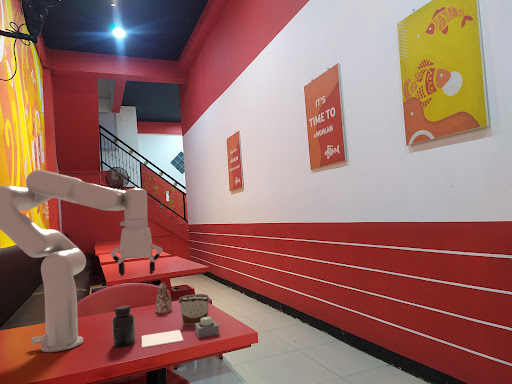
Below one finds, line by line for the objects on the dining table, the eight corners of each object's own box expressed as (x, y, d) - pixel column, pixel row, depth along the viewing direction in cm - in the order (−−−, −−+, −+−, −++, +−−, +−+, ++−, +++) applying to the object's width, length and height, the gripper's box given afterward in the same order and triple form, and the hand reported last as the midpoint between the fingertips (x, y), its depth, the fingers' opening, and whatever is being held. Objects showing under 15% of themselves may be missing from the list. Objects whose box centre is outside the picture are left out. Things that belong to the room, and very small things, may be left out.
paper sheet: (141, 347, 114) (141, 347, 114) (141, 336, 125) (141, 335, 125) (183, 341, 118) (183, 340, 118) (179, 330, 129) (179, 329, 129)
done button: (201, 329, 122) (201, 320, 122) (200, 326, 126) (199, 317, 126) (213, 328, 123) (213, 319, 123) (211, 324, 127) (210, 316, 127)
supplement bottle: (126, 339, 124) (125, 303, 124) (139, 342, 120) (138, 305, 121) (108, 346, 118) (107, 308, 119) (121, 349, 114) (120, 310, 115)
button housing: (198, 338, 120) (198, 328, 120) (195, 331, 127) (195, 323, 127) (219, 334, 122) (218, 325, 122) (215, 328, 129) (214, 320, 129)
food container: (214, 318, 142) (213, 293, 142) (211, 323, 136) (209, 296, 136) (184, 320, 143) (182, 294, 144) (179, 324, 137) (177, 298, 137)
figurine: (152, 312, 158) (151, 284, 159) (160, 308, 165) (159, 281, 166) (167, 312, 156) (166, 284, 157) (174, 308, 163) (173, 281, 164)
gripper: (107, 225, 120) (107, 277, 119) (160, 223, 122) (161, 274, 121) (112, 225, 127) (113, 274, 126) (163, 223, 130) (164, 271, 129)
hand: (137, 274), depth 124 cm, fingers open, 9 cm apart
